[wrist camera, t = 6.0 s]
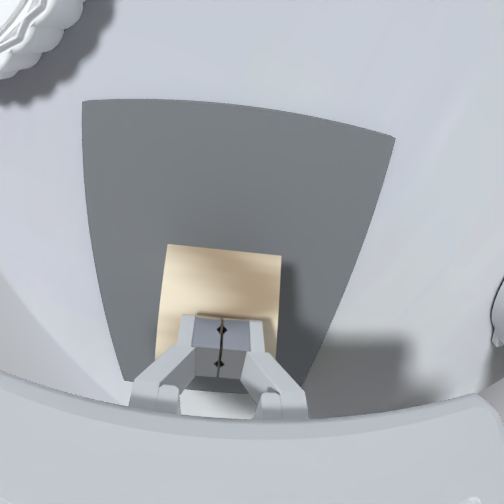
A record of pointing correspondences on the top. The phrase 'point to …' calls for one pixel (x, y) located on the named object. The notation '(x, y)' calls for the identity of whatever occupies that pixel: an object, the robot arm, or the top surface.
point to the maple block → (218, 290)
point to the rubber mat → (225, 211)
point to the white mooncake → (32, 30)
